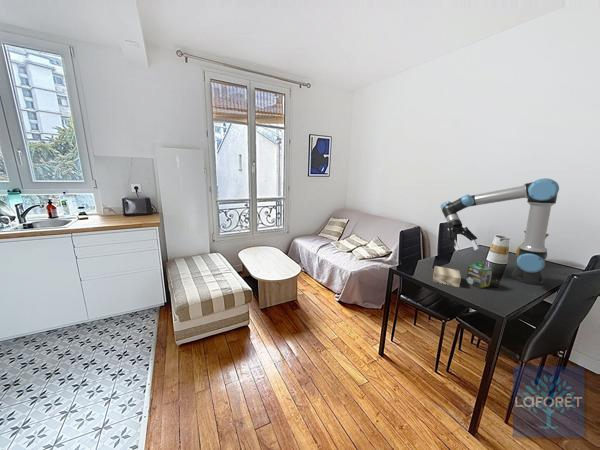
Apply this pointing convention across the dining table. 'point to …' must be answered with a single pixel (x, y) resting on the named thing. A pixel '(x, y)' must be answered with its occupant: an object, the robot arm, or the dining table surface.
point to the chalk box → (479, 275)
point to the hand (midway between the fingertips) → (467, 249)
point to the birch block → (447, 276)
